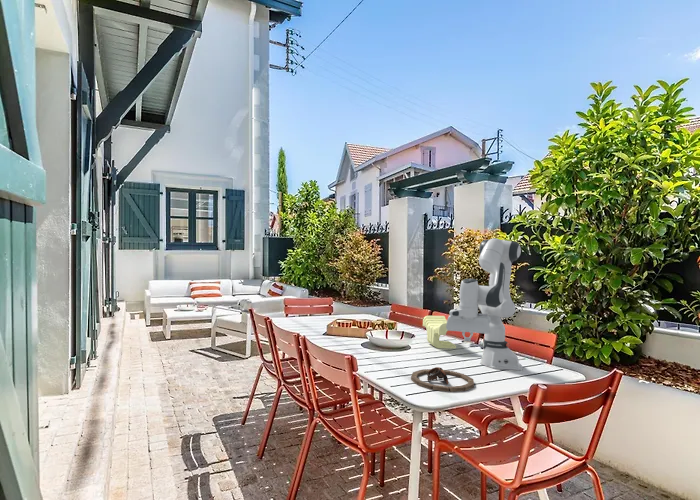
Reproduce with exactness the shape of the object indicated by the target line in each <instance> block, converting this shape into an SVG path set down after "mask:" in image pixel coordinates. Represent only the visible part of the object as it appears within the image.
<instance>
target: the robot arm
mask: <svg viewBox="0 0 700 500" xmlns="http://www.w3.org/2000/svg"><path fill="white" fill-rule="evenodd" d="M478 250H479V257H478V264H479V266H480V267H481V269H483V271H485V272H486V273H489V279H488V285H480V284H479V282H478V279H475V278H465V279H462V280H461V282H460V287H459V304H458V305H459V306H458V308H454V309H450V311H449V315H448V317H447V318H446V320H447V325H446V329H447V330H448V331H447V332H449V331H450V332H461V334H462V336H463V338H464V339H463V342H471V339H472V337H473V335H474V334H484V337H483V341H482V348H483V352H482V356H481V360H480V364H481V365H483V366H486V367H489V368H491V369H494V370H511V371H521V370H523V365H522V364H521V363H520V362H519V357H518V355H517V354H516V353H514V352H513V350H511V349H510V348H509V347H511V344H510V343H509V342H508V341H506V326H505V325H504V322H503V321H502V318H506V319H507V318H510V317H512V316H514V314H515V313H516V305H515V303H514V301H513V300H512V297H511V291H510V286H511V285H510V284H511V282H510V281H511V275H512V264H514V262H516V261H517V260H518V259H519V258H520V256H521V252H522V248H521V245H520V243H519V242H517V241H510V240H504V239H499V238H490V239H484V240H482V241H481V242H480V244H479V248H478ZM479 310H480V313H479ZM466 333H469V334H470V335H469V336H467V337H466V335H465V334H466Z"/></svg>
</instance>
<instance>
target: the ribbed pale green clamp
mask: <svg viewBox="0 0 700 500" xmlns="http://www.w3.org/2000/svg"><path fill="white" fill-rule="evenodd" d="M446 325H447V318H446V316H445V315H425V316H424V317H423V319H422V327H425V329H426V336H427V337H426V341H427V342H428V343H429V344H430V345H431V346H433V347H434V348H436V349H457V346H456V344H454V343H453V342H452V341H449V340H440V337H441V336H446V335H447V333H448V332H449V331H448V330H447V329H446Z"/></svg>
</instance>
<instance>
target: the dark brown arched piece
mask: <svg viewBox="0 0 700 500" xmlns="http://www.w3.org/2000/svg"><path fill="white" fill-rule="evenodd" d="M430 369H431V370H429V371H428V373H429V374H428V373H427V374H426V376H427V379H426V380H427V381H428V382H430V381H438V379H439V380H442V379H443V382H446V386H447V385H449V379H448V376H447V374H446V373H445V372H444V371H443V370H444V369H443V368H442V367H432V368H430ZM434 371H436V373H432V372H434ZM431 373H432V374H431Z"/></svg>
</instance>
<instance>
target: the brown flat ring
mask: <svg viewBox="0 0 700 500" xmlns="http://www.w3.org/2000/svg"><path fill="white" fill-rule="evenodd" d="M431 369H432V368H429V369H419V370H416V371H412V374H411V376H410V380H411V382H413V383H414V384H415V385H417V386H420V387H422V388H426V389H429V390H433V391H441V392H446V393H447V392H448V393H449V392H451V393H455V392H467V391H469V390H471V389H474V387H475V385H474V384H475V383H474V381H475V380H474V379H473V378H472V377H470V376H469V375H466V374H465V373H460V372H457V371H454V370H449V369H448V370H447V369H443V371H444V372H445V373H446V375H449V376H451V377H452V376H453V377H456V378H459V379H460V378H461V379H462V380H463V381H465V382H467V383H466V384H463V385H454V386H447V385H440V384H439V385H437V384H432V383H428V382H426V381H423V380H421V379H420V378H418V377H419V376H422V375H427V373H428V371H429V370H431ZM435 373H436V371H434V372H432V373H431V374H430V375H433V374H435ZM428 374H429V373H428Z"/></svg>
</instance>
